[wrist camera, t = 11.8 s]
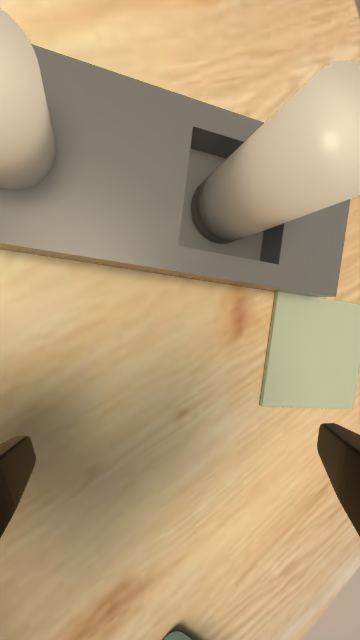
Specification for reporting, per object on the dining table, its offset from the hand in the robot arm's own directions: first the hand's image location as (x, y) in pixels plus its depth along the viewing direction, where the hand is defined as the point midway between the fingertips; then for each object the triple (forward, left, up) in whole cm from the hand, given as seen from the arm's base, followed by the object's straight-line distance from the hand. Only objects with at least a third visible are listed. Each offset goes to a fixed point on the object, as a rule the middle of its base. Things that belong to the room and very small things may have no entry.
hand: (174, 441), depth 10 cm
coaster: (+2, -15, -12) cm, 20 cm away
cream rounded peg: (+11, -5, -12) cm, 17 cm away
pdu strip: (+11, -2, -12) cm, 17 cm away
